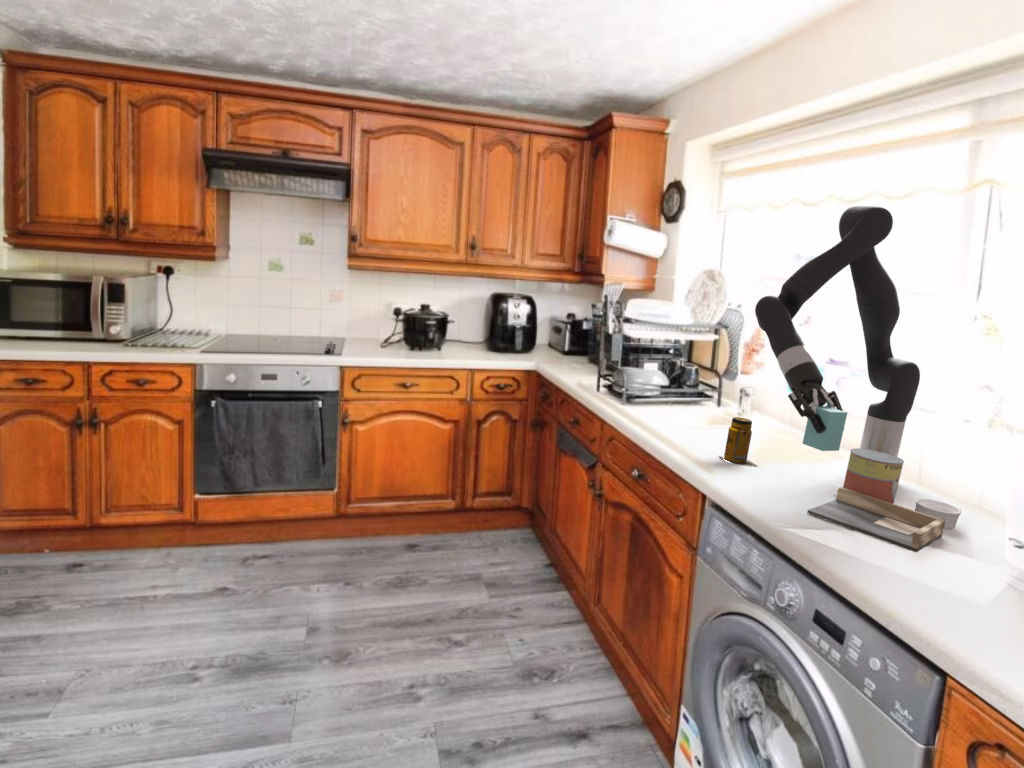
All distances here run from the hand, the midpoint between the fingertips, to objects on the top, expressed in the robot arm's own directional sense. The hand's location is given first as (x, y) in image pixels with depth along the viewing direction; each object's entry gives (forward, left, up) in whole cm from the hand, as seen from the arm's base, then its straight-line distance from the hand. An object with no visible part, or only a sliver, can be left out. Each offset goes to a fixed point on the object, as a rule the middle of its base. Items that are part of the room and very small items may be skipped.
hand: (831, 431), depth 151 cm
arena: (0, +13, -18) cm, 22 cm away
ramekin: (-17, +20, -18) cm, 32 cm away
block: (0, -2, -4) cm, 5 cm away
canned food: (-15, +6, -18) cm, 24 cm away
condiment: (-15, -28, -18) cm, 37 cm away
